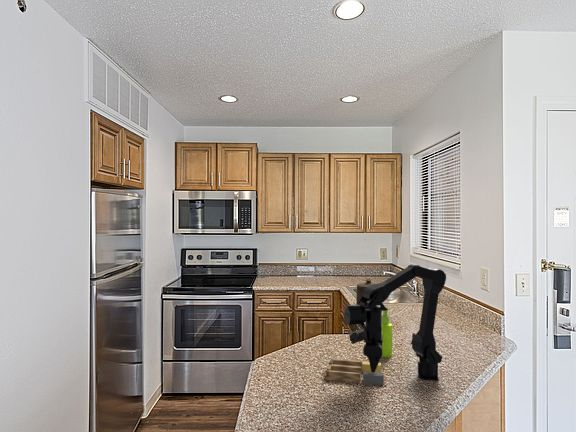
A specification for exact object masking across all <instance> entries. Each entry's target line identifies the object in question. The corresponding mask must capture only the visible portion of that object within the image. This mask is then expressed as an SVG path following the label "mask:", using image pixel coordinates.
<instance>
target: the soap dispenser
mask: <svg viewBox="0 0 576 432" xmlns="http://www.w3.org/2000/svg"><path fill="white" fill-rule="evenodd" d="M386 308H387V309H388V310H386V311H382V312H383V313H382V335H383V342H382V357H381V358H392V357H393V324H392V323H391V322H390V315H388V311H390V308H388V307H386Z"/></svg>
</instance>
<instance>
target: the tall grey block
mask: <svg viewBox="0 0 576 432" xmlns="http://www.w3.org/2000/svg"><path fill="white" fill-rule="evenodd" d="M384 377H385V376H384V372H381V373H374V372H362V382H363V383H362V384H365V385H381V386H384V385H385V382H384Z"/></svg>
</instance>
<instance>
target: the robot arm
mask: <svg viewBox="0 0 576 432" xmlns="http://www.w3.org/2000/svg"><path fill="white" fill-rule="evenodd" d="M415 278H421V279H422V282H421V283H422V287H423V289H424V293H423V294H424V295H423V300H422V302H423V303H422V309H421V316H420V323H419V329H418V331H417V332H416V333H412V335H411V337H412V338H411V341H410V345H411V348H412V351H413V352H414V353H415V355H416V357H417V358H419V361H417V375H418V376H419V379H421V380H430V381H431V380H432V381H440V380H439V364H441V363H442V360H443V356H442V355H441V354H440V353H439V352H438V351H437V345H436V344H437V342H436V339H435V336H434V330H435V323H436V315H437V308H438V302H439V295H440V293H441V292H442V290H443V289H444V287H445V284H446V282H447V281H446V280H447V274H446V273H445V271H444V270H442V269H439V268H434V267H428V268H426V267H424V266H421V265H419V264H414V263H411V264H409V265H408V266H407V267H404V268H403V269H402V270H400V271H399V272H397V273H395V274H394V275H392V276H391V277H389V278H387V279H386V280H384V281H382V282H378V283H373V284H374V285H371V286H369V287H367V288H365V289H364V292H363V295H362V297H361V298H360V300H359V301H358V303H357V305H356V304H346V306H345V307H346V308H345V309H344V312H343V320H344V323H345V325H347V326H353V325H354V326H355V325H363V324H364V323H365V324H364V327H363V328H361V329H357V330H354V331H351V332H349V334H348V337H349V341H350V342H351V344H352V345H355V344H356V343H359V342H363V343H364V345H363V347H362V348H363V350H362V351H363V353H362V355H364V356H366V357H367V358H368V362H369V363H370V367H371V372H375V370H376V368H377V366H378V363H380V361H381V359H382V358H383V357H382V342H383V335H382V315H383V313H382V312H383V311H386V310H387V311H389V310H388V309H387V308H388V307H386V306H385V304H384V302H386V300H387V299H388V298H389V297H390V295H391V294H392V293H393V292H394V291H396V290H398V289H399V288H401V287H402V286H404V285H406V284H407V283H410V281H412V280H414V279H415ZM366 302H369V303H366Z"/></svg>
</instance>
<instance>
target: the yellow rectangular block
mask: <svg viewBox="0 0 576 432" xmlns="http://www.w3.org/2000/svg"><path fill="white" fill-rule="evenodd" d="M361 361H362V360H361ZM363 372H371V367H370V363H369V361H364V360H363V361H362V373H363ZM374 373H382V363H381V362H379V363H378V366H377V368H376V370H375V372H374Z"/></svg>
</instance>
